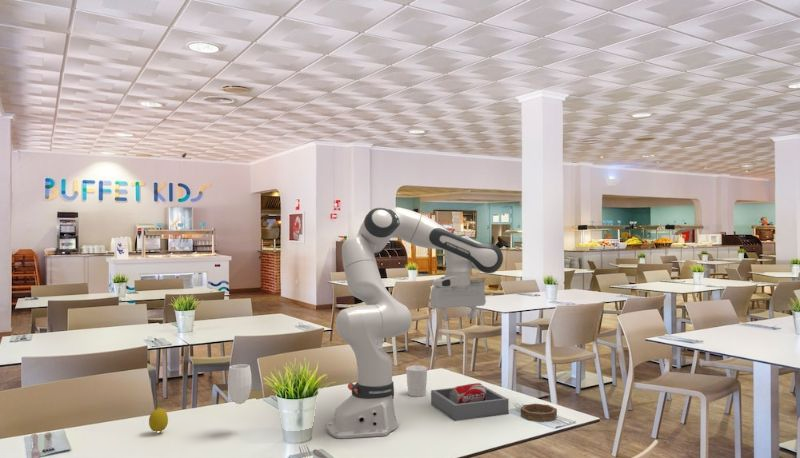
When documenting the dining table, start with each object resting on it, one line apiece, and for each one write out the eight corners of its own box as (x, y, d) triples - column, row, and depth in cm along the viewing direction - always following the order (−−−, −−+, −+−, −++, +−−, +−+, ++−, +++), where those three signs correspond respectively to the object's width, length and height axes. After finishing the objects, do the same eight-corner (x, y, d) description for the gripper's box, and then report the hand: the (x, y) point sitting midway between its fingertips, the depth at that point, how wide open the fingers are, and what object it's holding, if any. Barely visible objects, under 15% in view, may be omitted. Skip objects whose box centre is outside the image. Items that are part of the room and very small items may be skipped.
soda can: (487, 406, 212) (458, 411, 206) (475, 397, 218) (447, 402, 212) (488, 386, 211) (460, 391, 205) (477, 379, 217) (449, 383, 211)
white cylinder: (403, 392, 232) (403, 366, 232) (423, 390, 234) (422, 364, 234) (410, 398, 225) (410, 371, 224) (430, 396, 227) (430, 369, 227)
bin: (454, 420, 198) (454, 405, 198) (431, 404, 216) (431, 390, 216) (508, 413, 204) (508, 399, 204) (481, 398, 223) (481, 384, 223)
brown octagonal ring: (533, 423, 194) (533, 415, 194) (515, 413, 205) (515, 406, 205) (562, 419, 198) (562, 411, 198) (543, 409, 208) (543, 402, 208)
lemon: (148, 437, 185) (147, 411, 185) (150, 431, 190) (150, 406, 190) (167, 435, 186) (166, 409, 186) (169, 429, 192) (168, 404, 192)
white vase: (227, 430, 190) (226, 365, 190) (250, 427, 193) (250, 363, 193) (229, 438, 183) (228, 370, 183) (253, 435, 186) (252, 367, 186)
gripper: (480, 279, 221) (481, 317, 220) (428, 281, 214) (429, 320, 214) (488, 280, 215) (489, 319, 214) (434, 282, 208) (435, 322, 208)
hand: (458, 319), depth 214 cm, fingers open, 8 cm apart
